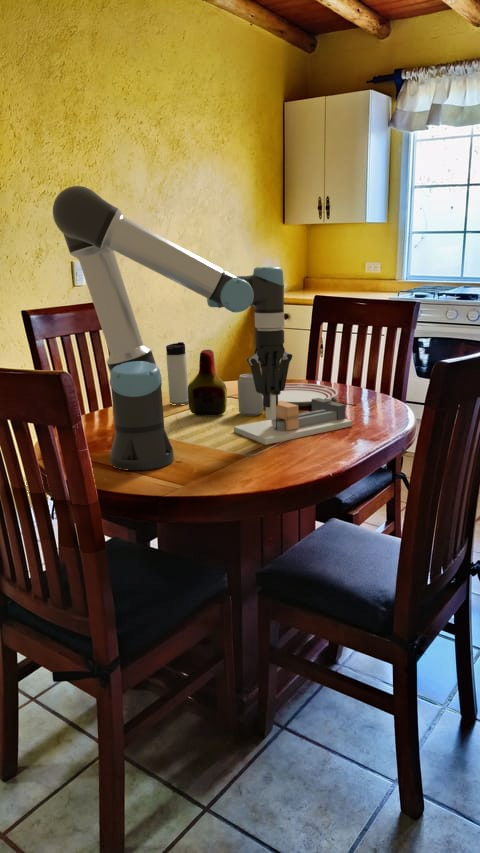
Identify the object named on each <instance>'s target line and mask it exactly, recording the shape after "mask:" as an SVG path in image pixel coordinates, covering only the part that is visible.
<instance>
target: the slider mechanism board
mask: <svg viewBox="0 0 480 853" xmlns="http://www.w3.org/2000/svg"><path fill="white" fill-rule="evenodd" d="M322 409H324V410H327V412H323V413H318V414H313V415H308V416H303V417H299V428H298V429H293V430H286V420H283V421H278V422H277V429H275V428H273V425H272V421H271V420H270V419H266V420H261V421H256V422H250V423H246V424H245V423H244V424H241V425H236V426H233V432H234V433H235V434H238V435H241V436H243V437H245V438H248V439H250V440H253V441H256V442H258V443H260V444H263V445H271V444H275V443H281V442H286V441H290V440H294V439H295V440H296V439H298V438H303V437H307V436H313V435H316V434H317V435H318V434H322V433H327V432H331V431H335V430H340V429H346V428H349V427H353V421H352V420H351V419H347V418H346V404H343V403H339V402H336V401H332V398H324V399H321V398H315V399H312V405H311V411H310V412H312V411H317V410H322ZM307 412H308V411H307ZM307 412H305V413H307ZM302 413H303V412H302ZM302 413H300V414H302Z"/></svg>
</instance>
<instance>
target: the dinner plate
mask: <svg viewBox="0 0 480 853" xmlns="http://www.w3.org/2000/svg"><path fill="white" fill-rule="evenodd" d="M280 392H281V393H280V394H279V395H278V401H284V402H288V403H291V404H295V405H298V407H306V406H307V407H308V406H312V399H315V398H321V399H324V398H331V399H333V398H335V397H337V396H338V395H339V394H338V393H339V391H338V390H337V389H335V388H333V387H331V386H327V385H322V384H316V383H315V384H314V383H301V382H298V383H297V382H291V383H290V382H289V383H286V384H285V389H284V391H280Z"/></svg>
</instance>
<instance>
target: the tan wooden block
mask: <svg viewBox="0 0 480 853" xmlns="http://www.w3.org/2000/svg"><path fill="white" fill-rule="evenodd" d="M299 412H300V411H299V406H298V405H295V404H291V403H288V402H284V401H278V406H276V418H281V419H284V420H286V430H293V429H298V428H299V414H300V413H299ZM271 421H272V425H273V420H271Z"/></svg>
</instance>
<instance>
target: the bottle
mask: <svg viewBox="0 0 480 853" xmlns="http://www.w3.org/2000/svg"><path fill="white" fill-rule="evenodd" d="M198 367H199V369H198V373H197V374H196V375H195V376H194V378H193V379H192V380H191V381H190V382H188V402H189V403H188V408H189V410H190V412H191V413H192V414H194V415H195V416H197V417H202V416H206V417H207V416H213V417H218V416H221V415H223V414H225V413H226V410H227V406H228V388H227V386H226V385H227V384H226V383H225V382H224V381H223V380H222V379H221V378H220V377H219V376H218V375H217V372H216V365H215V355H214V351H213V350H212V349H203V350H202V351H201V352H200V353H199V366H198Z"/></svg>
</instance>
